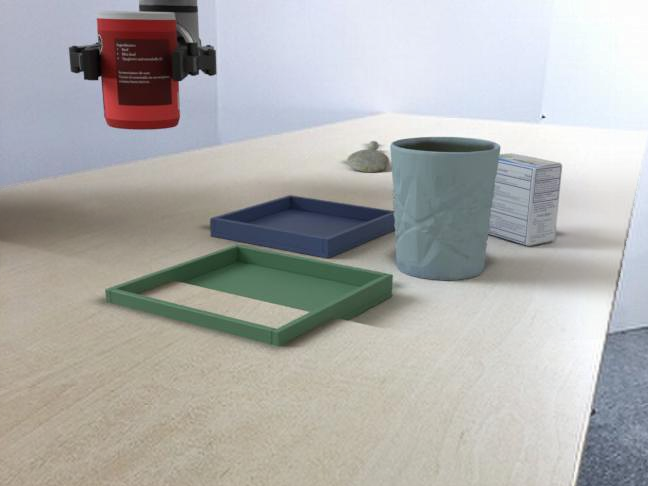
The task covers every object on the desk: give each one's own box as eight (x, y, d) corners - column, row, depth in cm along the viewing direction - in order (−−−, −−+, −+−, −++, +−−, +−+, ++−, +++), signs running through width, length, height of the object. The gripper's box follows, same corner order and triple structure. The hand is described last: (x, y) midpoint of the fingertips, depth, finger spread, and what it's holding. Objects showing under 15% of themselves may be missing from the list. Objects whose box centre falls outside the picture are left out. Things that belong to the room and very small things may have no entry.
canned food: (143, 118, 94) (137, 11, 90) (196, 125, 89) (192, 13, 85) (88, 125, 88) (78, 10, 84) (142, 132, 84) (135, 12, 80)
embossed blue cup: (504, 281, 80) (516, 151, 75) (398, 284, 78) (405, 152, 74) (470, 252, 89) (479, 135, 85) (376, 254, 87) (380, 135, 83)
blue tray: (210, 236, 93) (209, 218, 92) (289, 210, 105) (289, 194, 104) (327, 258, 86) (328, 239, 85) (398, 228, 98) (399, 211, 97)
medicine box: (555, 242, 93) (565, 162, 90) (527, 247, 91) (535, 166, 88) (504, 227, 100) (511, 152, 96) (476, 231, 97) (482, 155, 94)
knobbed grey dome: (344, 175, 131) (386, 179, 131) (345, 153, 130) (388, 157, 129) (355, 148, 151) (392, 151, 151) (357, 129, 150) (394, 132, 149)
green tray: (106, 312, 70) (104, 289, 69) (237, 263, 83) (236, 244, 83) (278, 358, 61) (278, 332, 61) (392, 296, 75) (393, 274, 74)
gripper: (247, 86, 105) (240, 107, 84) (77, 84, 104) (26, 104, 82) (246, 22, 102) (238, 26, 81) (71, 18, 101) (17, 22, 80)
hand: (131, 65), depth 82 cm, fingers closed on canned food, 8 cm apart
